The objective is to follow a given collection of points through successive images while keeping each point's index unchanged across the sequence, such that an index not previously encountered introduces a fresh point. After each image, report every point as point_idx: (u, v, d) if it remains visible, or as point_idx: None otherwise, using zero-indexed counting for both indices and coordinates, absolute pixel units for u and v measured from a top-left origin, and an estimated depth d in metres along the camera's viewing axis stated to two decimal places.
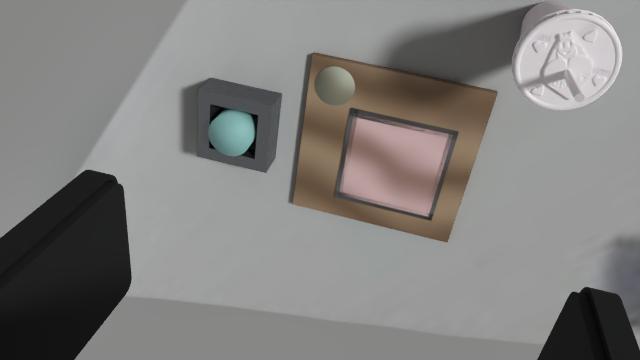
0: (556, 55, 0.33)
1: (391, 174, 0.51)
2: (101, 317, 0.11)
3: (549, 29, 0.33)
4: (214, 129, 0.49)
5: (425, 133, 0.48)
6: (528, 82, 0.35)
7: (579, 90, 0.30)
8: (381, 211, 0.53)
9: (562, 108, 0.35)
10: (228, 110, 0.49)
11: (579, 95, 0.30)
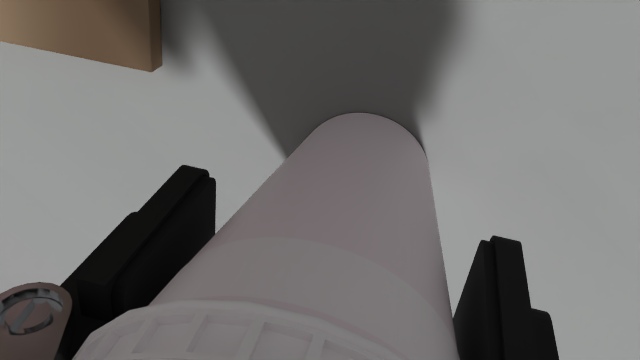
0: None
1: None
2: None
3: None
4: None
5: None
6: None
7: None
8: None
9: None
10: None
11: None
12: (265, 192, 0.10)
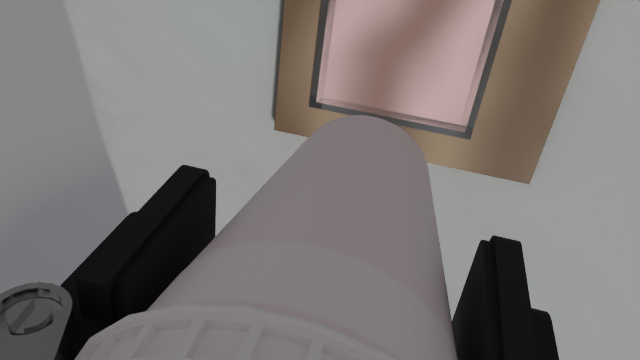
0: None
1: (389, 42, 0.30)
2: None
3: None
4: None
5: (468, 93, 0.30)
6: None
7: None
8: (311, 25, 0.30)
9: None
10: None
11: None
12: (264, 195, 0.10)
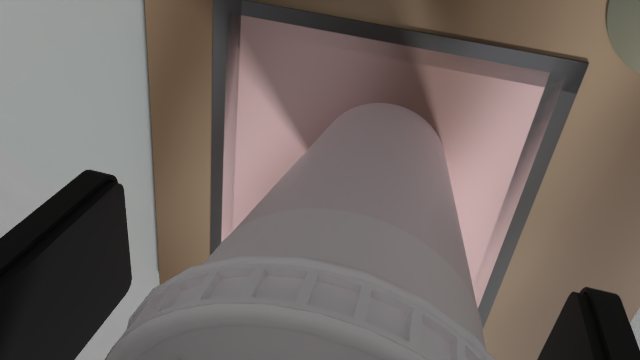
0: None
1: None
2: (101, 317, 0.11)
3: None
4: None
5: (476, 271, 0.17)
6: (189, 354, 0.07)
7: None
8: (201, 148, 0.17)
9: None
10: None
11: None
12: (298, 172, 0.11)
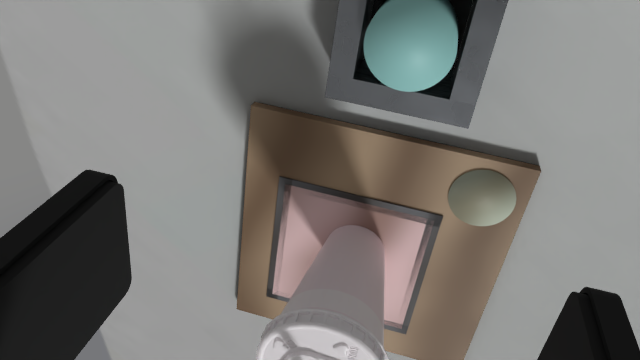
0: None
1: None
2: (101, 317, 0.11)
3: (364, 359, 0.24)
4: (426, 16, 0.22)
5: (402, 301, 0.34)
6: (290, 336, 0.24)
7: None
8: (266, 238, 0.35)
9: None
10: (457, 32, 0.24)
11: None
12: (318, 268, 0.28)
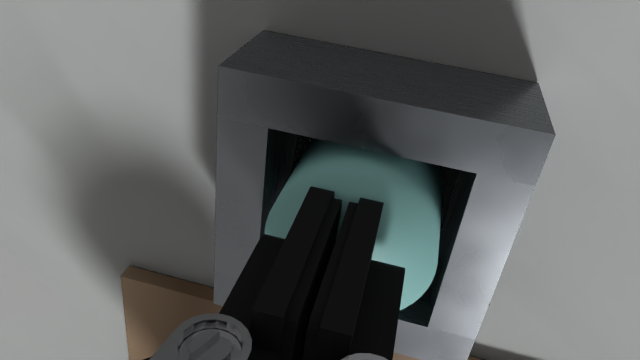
0: None
1: None
2: None
3: None
4: None
5: None
6: None
7: None
8: None
9: None
10: (439, 212, 0.13)
11: None
12: None
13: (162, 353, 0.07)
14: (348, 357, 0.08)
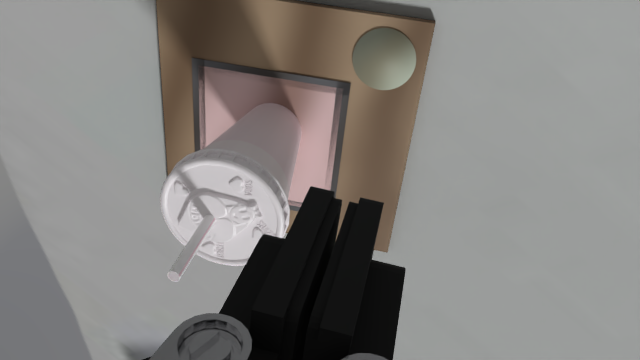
0: (229, 205, 0.25)
1: None
2: None
3: (260, 192, 0.25)
4: None
5: (324, 181, 0.35)
6: (188, 177, 0.25)
7: (184, 270, 0.23)
8: (188, 128, 0.35)
9: (166, 217, 0.27)
10: None
11: (176, 274, 0.22)
12: (226, 131, 0.29)
13: (162, 353, 0.07)
14: (348, 357, 0.08)
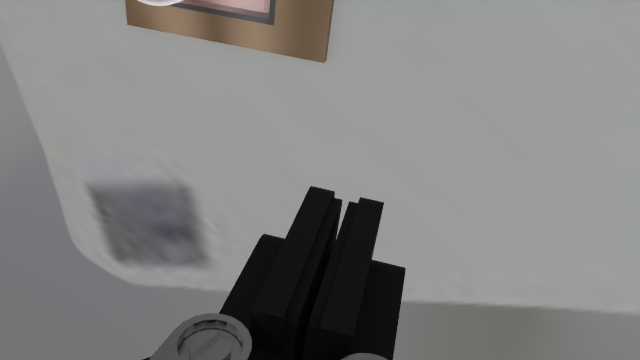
0: None
1: None
2: None
3: None
4: None
5: None
6: None
7: None
8: None
9: None
10: None
11: None
12: None
13: (162, 353, 0.07)
14: (348, 357, 0.08)
